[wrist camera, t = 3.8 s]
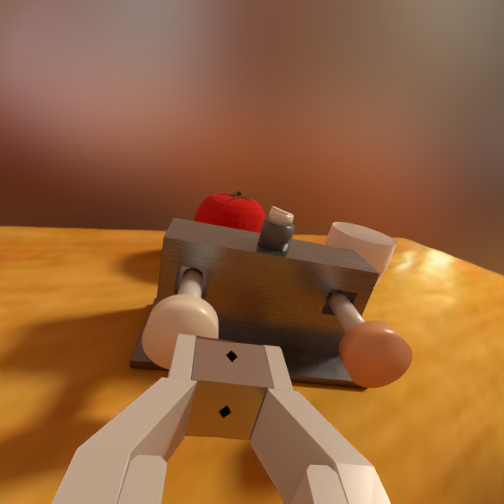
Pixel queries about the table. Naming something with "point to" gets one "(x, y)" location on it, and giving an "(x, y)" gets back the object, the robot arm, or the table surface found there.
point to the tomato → (231, 212)
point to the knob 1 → (179, 319)
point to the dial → (277, 230)
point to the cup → (363, 244)
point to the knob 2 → (369, 346)
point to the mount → (268, 294)
